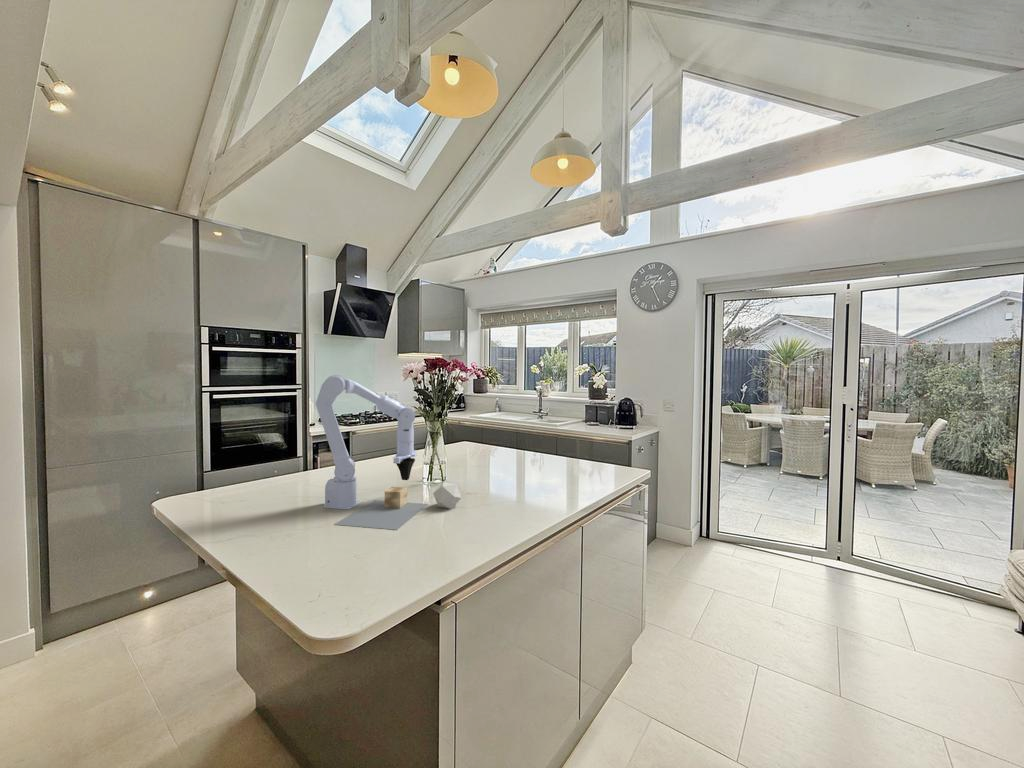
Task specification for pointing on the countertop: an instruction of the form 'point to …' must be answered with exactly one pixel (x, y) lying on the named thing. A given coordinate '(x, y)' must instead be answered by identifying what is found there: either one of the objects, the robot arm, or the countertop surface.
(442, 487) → the die
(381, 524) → the rubber mat
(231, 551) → the countertop surface
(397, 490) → the oak block
